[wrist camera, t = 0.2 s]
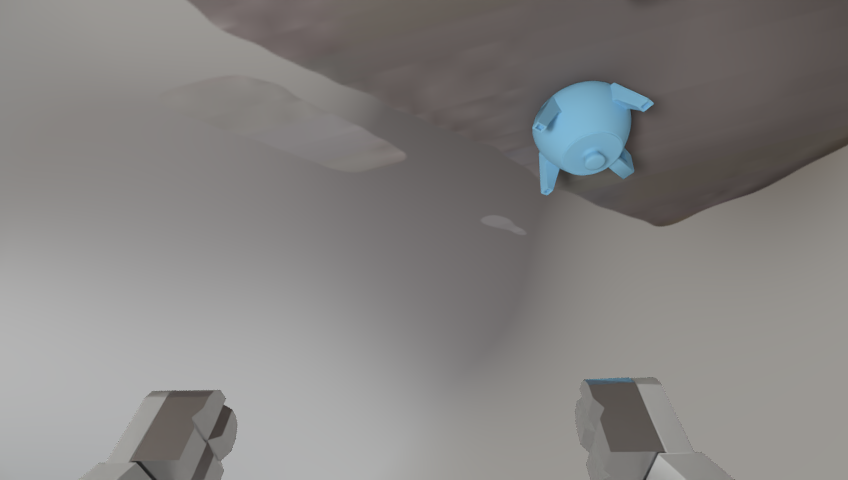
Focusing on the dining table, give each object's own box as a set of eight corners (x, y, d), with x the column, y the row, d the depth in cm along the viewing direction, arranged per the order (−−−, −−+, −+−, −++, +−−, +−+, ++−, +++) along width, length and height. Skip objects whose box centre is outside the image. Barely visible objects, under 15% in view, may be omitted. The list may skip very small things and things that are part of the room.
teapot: (527, 160, 75) (540, 208, 69) (521, 85, 63) (535, 136, 57) (621, 140, 73) (643, 189, 66) (633, 59, 61) (661, 109, 54)
